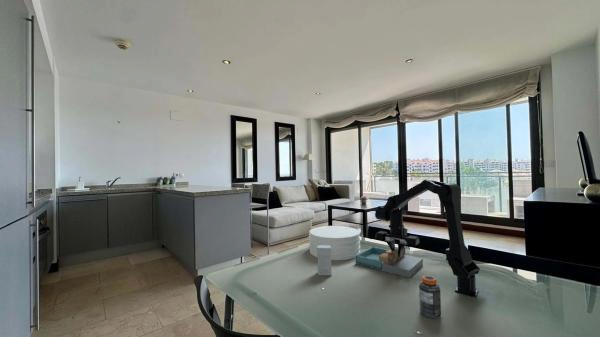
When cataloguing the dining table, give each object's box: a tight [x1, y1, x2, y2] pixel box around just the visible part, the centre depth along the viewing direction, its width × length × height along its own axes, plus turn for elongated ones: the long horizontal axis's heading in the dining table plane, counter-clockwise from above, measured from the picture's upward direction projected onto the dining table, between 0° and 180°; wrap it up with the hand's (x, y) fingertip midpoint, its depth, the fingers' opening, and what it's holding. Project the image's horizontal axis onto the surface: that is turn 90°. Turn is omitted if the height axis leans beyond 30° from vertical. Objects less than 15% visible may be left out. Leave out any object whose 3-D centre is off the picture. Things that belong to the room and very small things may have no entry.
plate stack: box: [309, 225, 361, 261], centre depth 143 cm, size 28×28×12 cm
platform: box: [381, 254, 424, 278], centre depth 117 cm, size 18×12×3 cm, turn 138°
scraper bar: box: [388, 245, 406, 264], centre depth 119 cm, size 16×2×4 cm, turn 138°
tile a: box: [379, 253, 388, 263], centre depth 118 cm, size 5×5×2 cm
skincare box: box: [316, 245, 333, 276], centre depth 112 cm, size 6×4×12 cm
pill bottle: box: [418, 275, 442, 319], centre depth 80 cm, size 6×6×11 cm
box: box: [355, 246, 389, 271], centre depth 125 cm, size 18×13×4 cm
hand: (396, 256), depth 119 cm, fingers closed on scraper bar, 2 cm apart
